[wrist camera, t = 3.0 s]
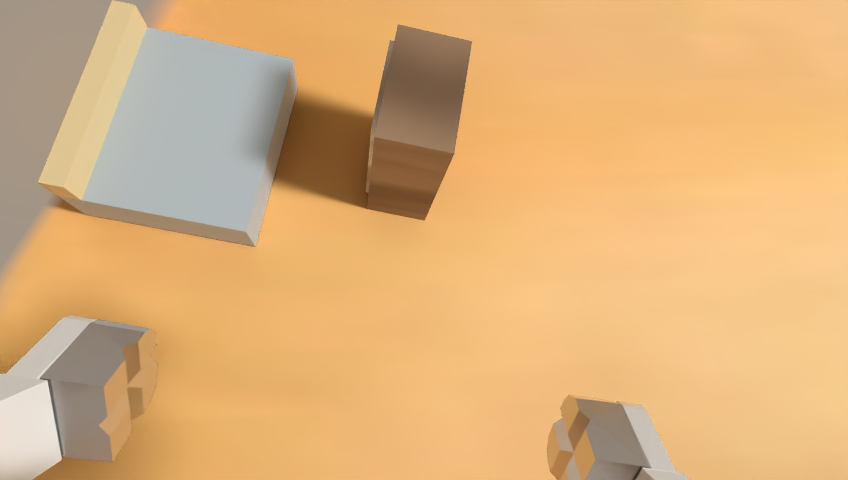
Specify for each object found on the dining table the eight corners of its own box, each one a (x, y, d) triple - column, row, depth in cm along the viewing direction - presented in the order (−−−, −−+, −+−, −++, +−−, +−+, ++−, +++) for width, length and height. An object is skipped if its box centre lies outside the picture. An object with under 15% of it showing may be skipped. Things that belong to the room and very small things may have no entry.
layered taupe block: (424, 220, 27) (454, 153, 20) (362, 208, 27) (367, 135, 19) (439, 134, 29) (471, 41, 21) (380, 122, 28) (391, 23, 21)
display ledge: (255, 246, 26) (239, 221, 22) (85, 214, 25) (37, 182, 21) (298, 87, 28) (290, 40, 24) (145, 54, 28) (112, -1, 24)
